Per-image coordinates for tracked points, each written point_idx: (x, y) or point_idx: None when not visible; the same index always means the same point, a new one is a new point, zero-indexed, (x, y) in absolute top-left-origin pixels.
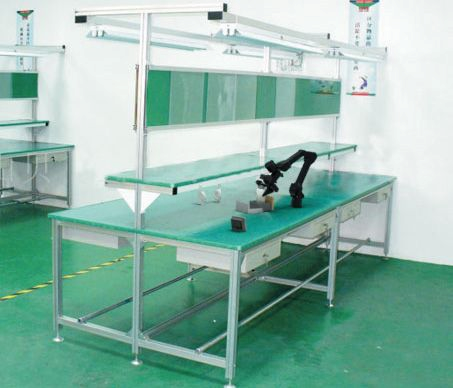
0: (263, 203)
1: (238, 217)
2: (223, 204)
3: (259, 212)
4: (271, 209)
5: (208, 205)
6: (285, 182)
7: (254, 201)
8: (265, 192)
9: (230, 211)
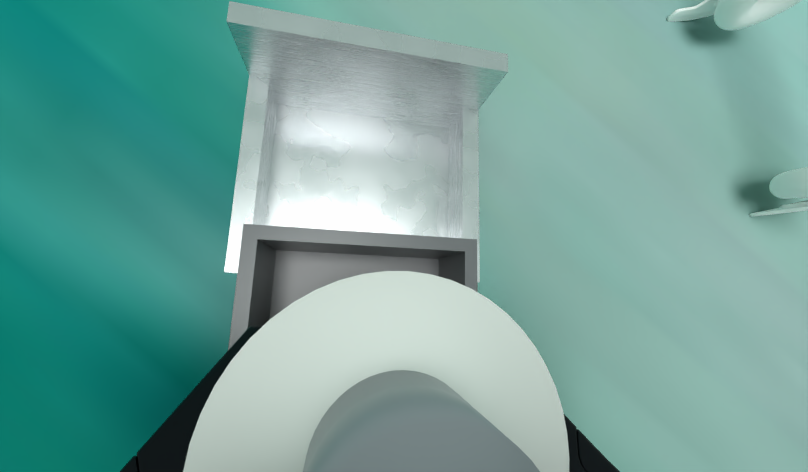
0: (234, 313)
1: None
2: (676, 182)
3: None
4: None
5: (667, 55)
6: None
7: None
8: (149, 445)
9: (422, 31)
